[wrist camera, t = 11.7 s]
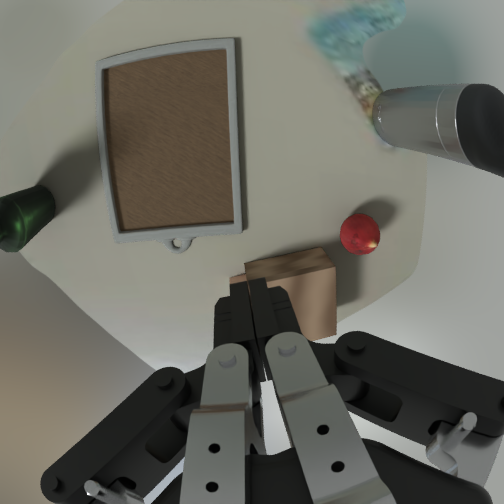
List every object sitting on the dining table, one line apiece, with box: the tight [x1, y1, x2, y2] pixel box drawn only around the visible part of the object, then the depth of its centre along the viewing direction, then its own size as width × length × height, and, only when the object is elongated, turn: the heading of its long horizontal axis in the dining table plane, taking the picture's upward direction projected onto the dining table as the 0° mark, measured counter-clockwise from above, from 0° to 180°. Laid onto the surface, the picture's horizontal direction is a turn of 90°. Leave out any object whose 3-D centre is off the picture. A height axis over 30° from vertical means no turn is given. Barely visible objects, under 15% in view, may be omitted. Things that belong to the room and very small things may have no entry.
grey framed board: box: [95, 38, 243, 253], centre depth 33 cm, size 19×2×30 cm
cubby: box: [244, 247, 337, 341], centre depth 41 cm, size 12×13×6 cm
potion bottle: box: [0, 185, 55, 252], centre depth 26 cm, size 8×8×18 cm
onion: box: [340, 214, 380, 255], centre depth 37 cm, size 6×6×8 cm
